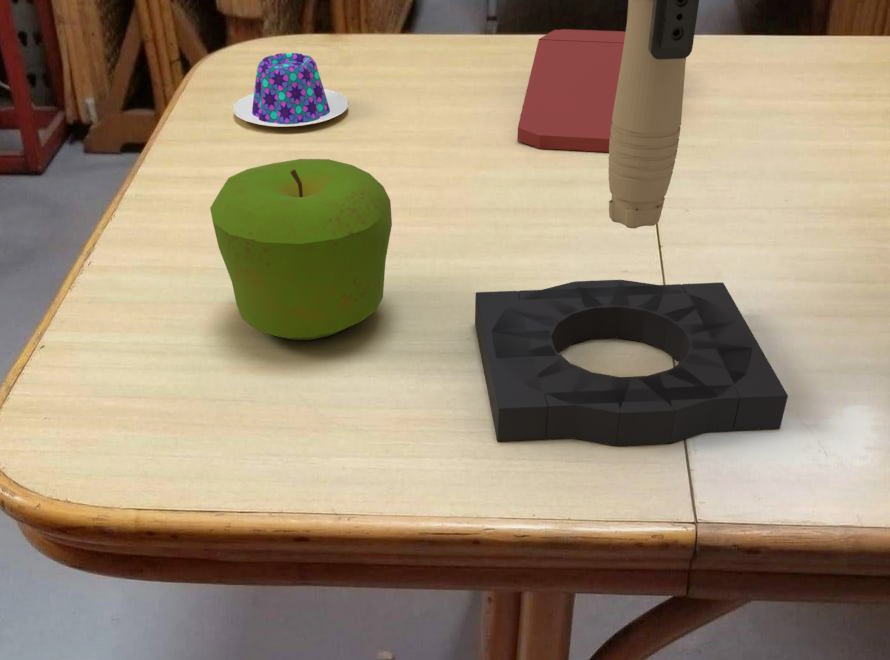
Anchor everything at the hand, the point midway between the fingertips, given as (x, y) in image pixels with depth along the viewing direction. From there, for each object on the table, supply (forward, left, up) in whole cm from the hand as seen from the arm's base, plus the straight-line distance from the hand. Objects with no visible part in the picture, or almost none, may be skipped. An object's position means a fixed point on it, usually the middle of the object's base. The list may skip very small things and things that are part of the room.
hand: (657, 39), depth 59 cm
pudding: (+24, -53, -21) cm, 62 cm away
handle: (0, 0, -11) cm, 11 cm away
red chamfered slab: (-7, -52, -21) cm, 57 cm away
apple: (+21, -9, -21) cm, 31 cm away
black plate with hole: (0, 0, -21) cm, 21 cm away
